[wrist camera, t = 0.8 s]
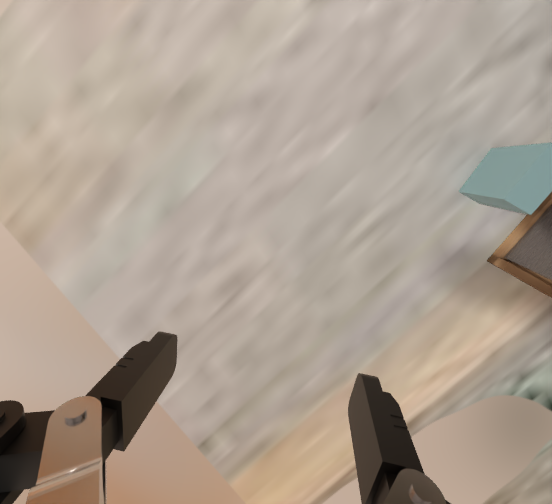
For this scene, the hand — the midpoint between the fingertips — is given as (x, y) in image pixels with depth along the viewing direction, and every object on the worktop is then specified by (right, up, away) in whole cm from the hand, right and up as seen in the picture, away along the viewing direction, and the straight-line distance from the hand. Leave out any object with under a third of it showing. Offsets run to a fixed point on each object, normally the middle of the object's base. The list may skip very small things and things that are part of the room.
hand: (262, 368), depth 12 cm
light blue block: (+25, +14, +20) cm, 35 cm away
